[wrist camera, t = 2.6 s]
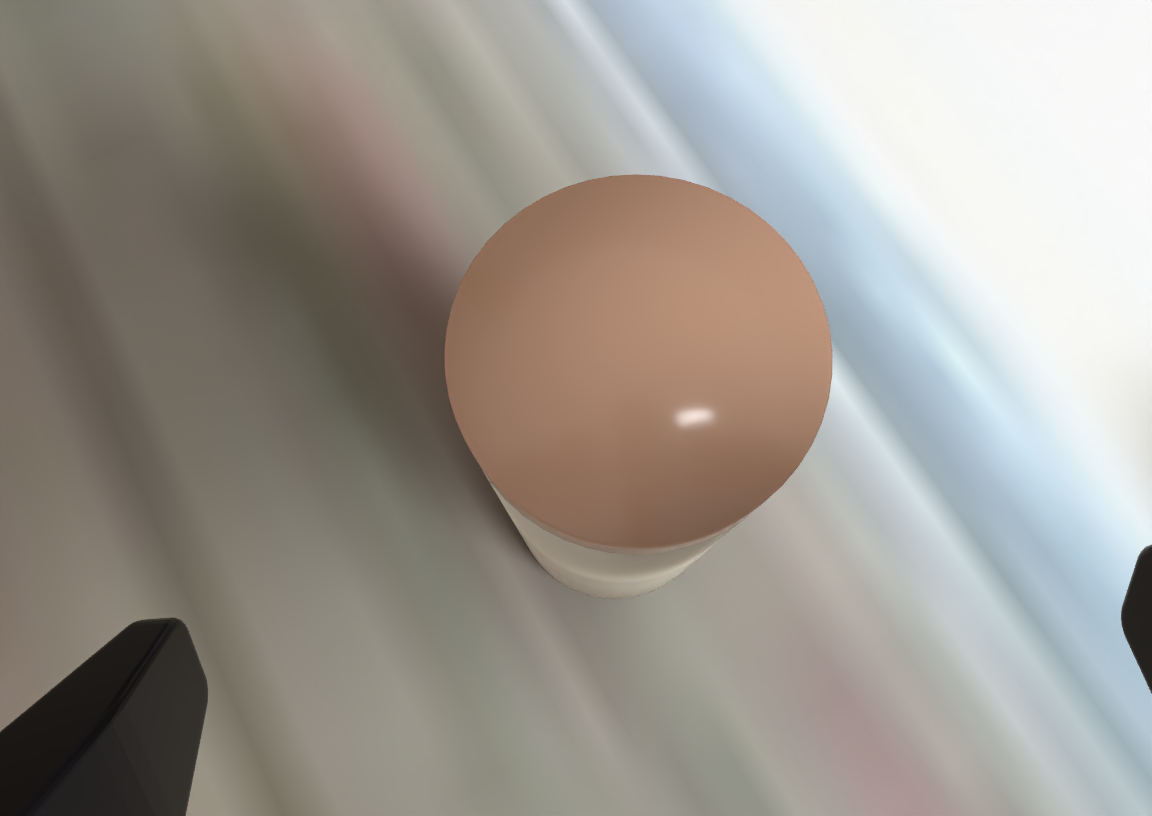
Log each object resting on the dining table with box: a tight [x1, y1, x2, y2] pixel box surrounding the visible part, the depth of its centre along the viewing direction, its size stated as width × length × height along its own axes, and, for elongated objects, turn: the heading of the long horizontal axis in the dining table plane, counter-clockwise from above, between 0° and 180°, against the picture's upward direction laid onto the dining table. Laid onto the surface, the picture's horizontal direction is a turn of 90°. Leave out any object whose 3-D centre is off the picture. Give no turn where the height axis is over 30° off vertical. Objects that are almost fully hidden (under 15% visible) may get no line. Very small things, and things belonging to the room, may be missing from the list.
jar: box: [444, 175, 832, 599], centre depth 14 cm, size 4×4×10 cm
